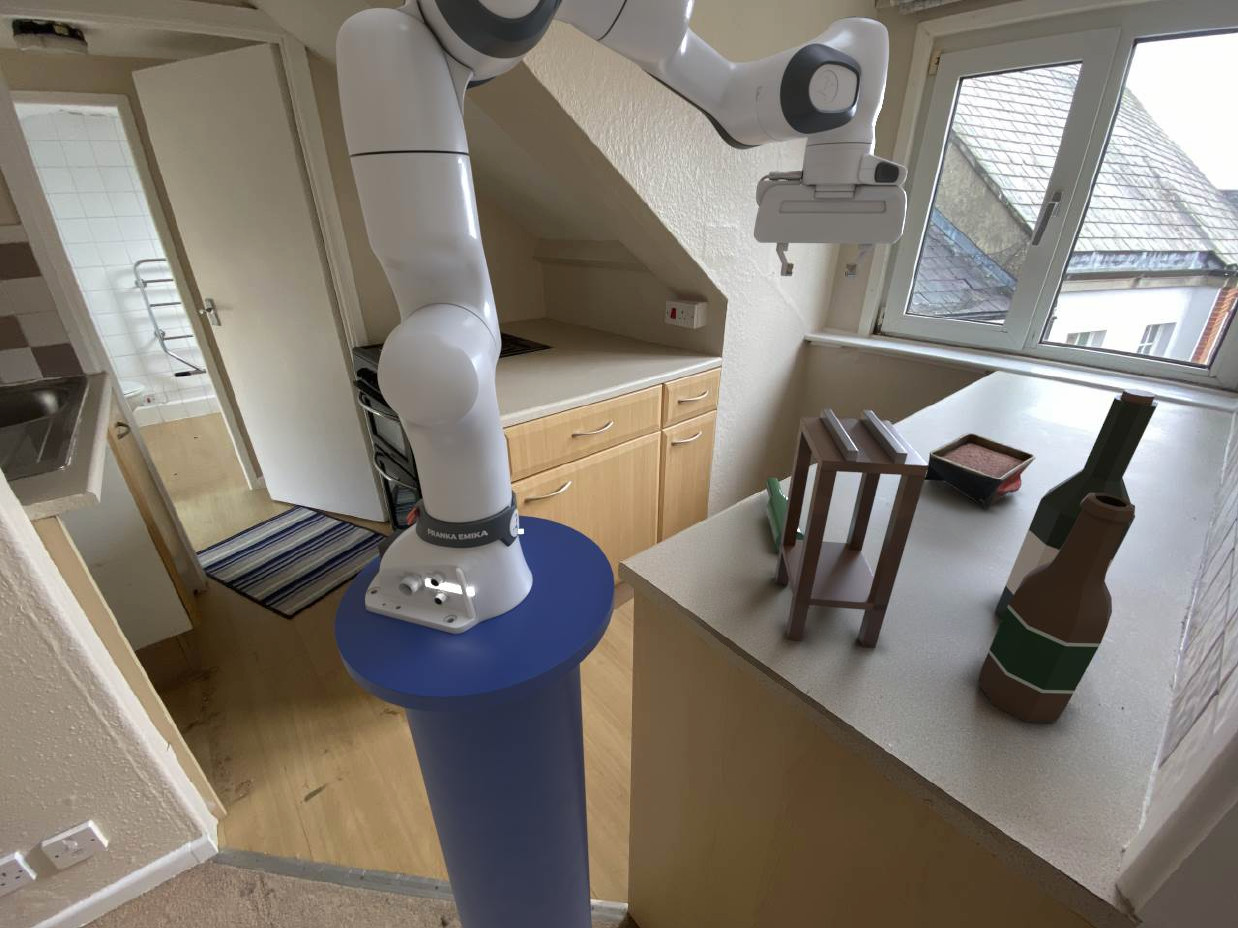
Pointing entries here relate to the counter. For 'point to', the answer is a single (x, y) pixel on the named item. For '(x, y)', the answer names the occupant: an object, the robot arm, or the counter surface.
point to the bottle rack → (842, 567)
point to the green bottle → (777, 511)
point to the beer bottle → (1057, 618)
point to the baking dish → (979, 467)
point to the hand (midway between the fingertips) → (818, 276)
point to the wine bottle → (1084, 487)
